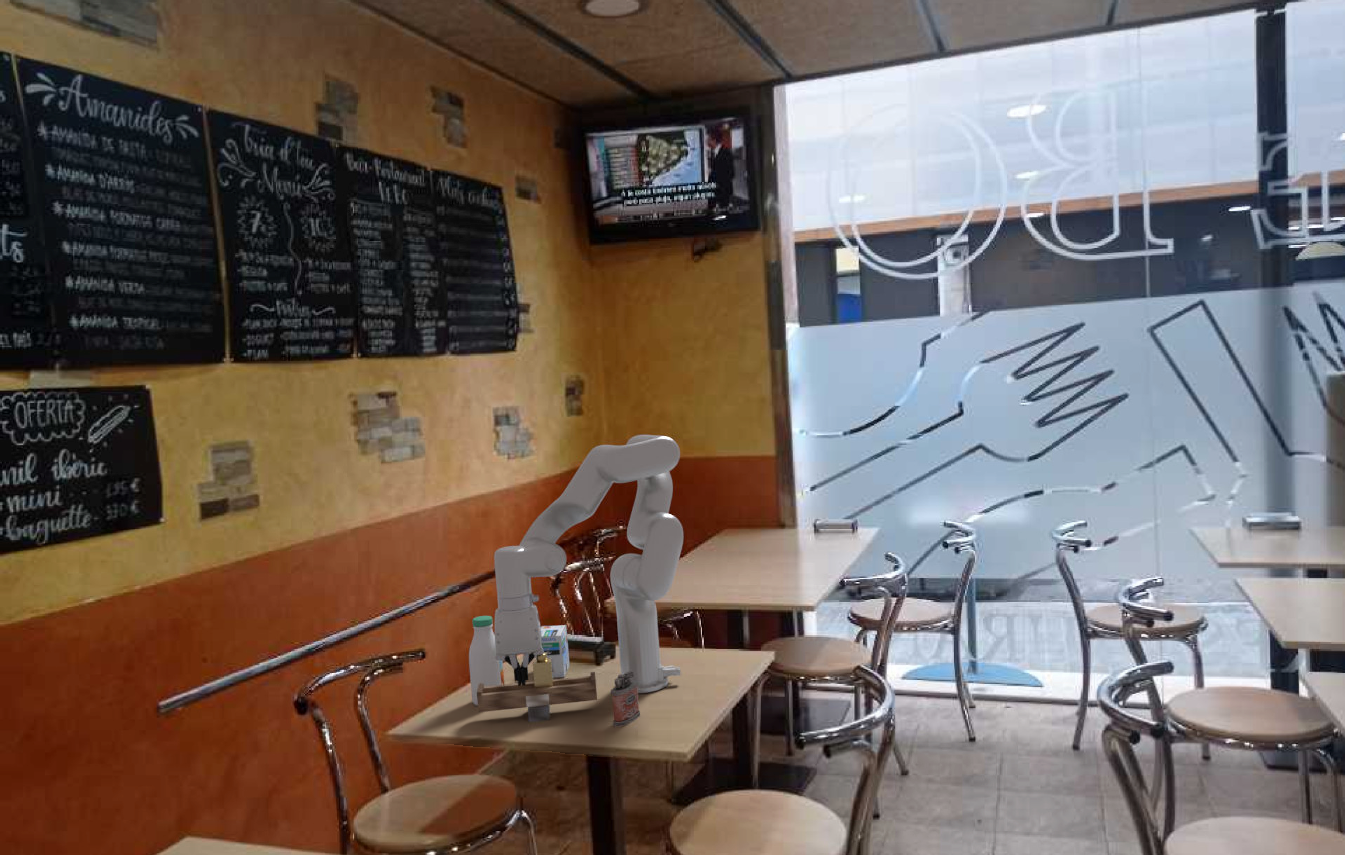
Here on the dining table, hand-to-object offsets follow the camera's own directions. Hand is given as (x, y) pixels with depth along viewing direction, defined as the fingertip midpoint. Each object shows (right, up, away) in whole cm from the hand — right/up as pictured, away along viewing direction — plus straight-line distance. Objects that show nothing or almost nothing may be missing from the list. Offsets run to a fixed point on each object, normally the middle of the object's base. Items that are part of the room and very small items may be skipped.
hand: (521, 683), depth 222 cm
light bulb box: (+3, -6, +32) cm, 33 cm away
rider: (+5, -1, +1) cm, 5 cm away
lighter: (+24, -7, -6) cm, 25 cm away
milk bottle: (-10, -8, +13) cm, 17 cm away
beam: (+4, -7, +1) cm, 8 cm away
